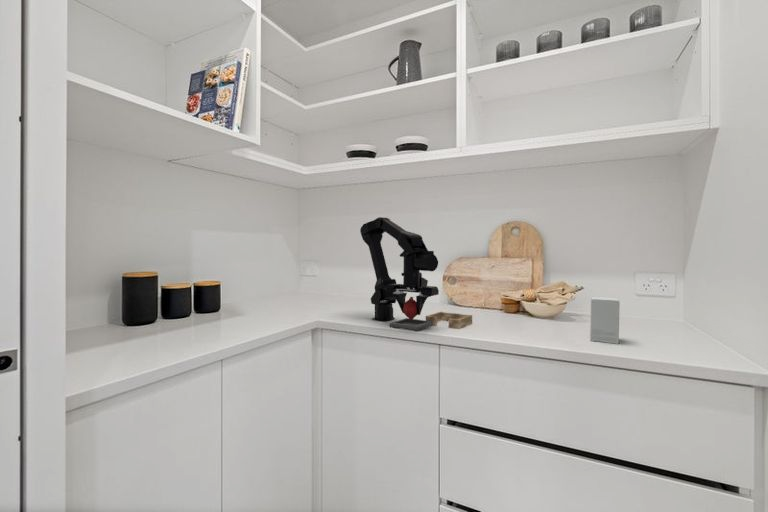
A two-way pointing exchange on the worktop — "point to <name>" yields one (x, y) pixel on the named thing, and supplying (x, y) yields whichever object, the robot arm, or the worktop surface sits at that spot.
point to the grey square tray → (411, 324)
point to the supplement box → (604, 320)
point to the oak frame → (451, 319)
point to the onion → (410, 308)
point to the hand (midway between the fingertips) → (411, 313)
